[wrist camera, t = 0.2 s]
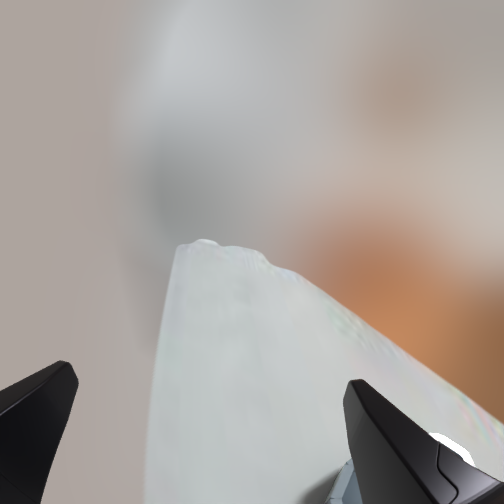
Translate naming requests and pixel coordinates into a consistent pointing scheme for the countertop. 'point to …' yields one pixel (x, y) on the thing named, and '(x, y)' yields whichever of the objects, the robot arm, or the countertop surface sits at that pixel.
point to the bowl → (346, 486)
